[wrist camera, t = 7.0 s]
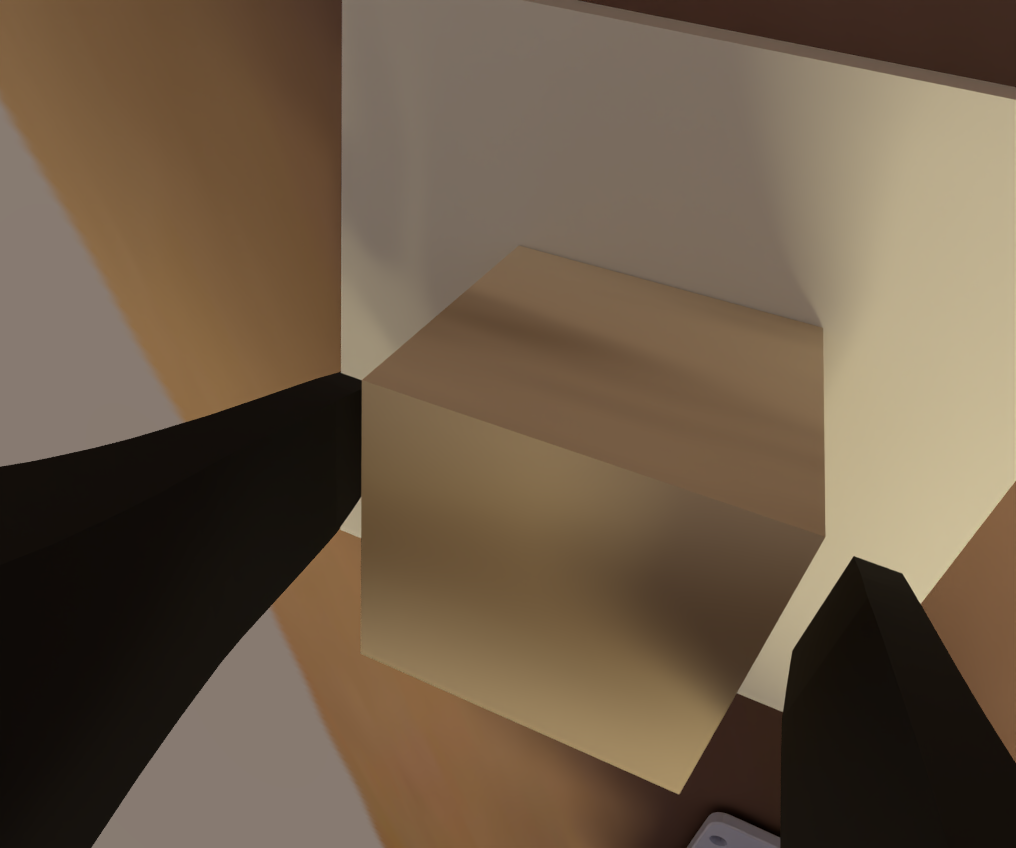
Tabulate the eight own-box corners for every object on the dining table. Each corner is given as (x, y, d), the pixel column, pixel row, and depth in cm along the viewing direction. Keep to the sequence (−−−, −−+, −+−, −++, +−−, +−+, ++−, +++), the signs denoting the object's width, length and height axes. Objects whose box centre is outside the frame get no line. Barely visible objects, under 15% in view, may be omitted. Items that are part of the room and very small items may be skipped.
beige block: (823, 626, 17) (824, 729, 15) (398, 464, 19) (340, 529, 17) (1162, 113, 10) (1269, 150, 8) (431, -31, 13) (341, -37, 10)
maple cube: (721, 554, 13) (679, 794, 9) (485, 471, 14) (360, 653, 10) (823, 327, 10) (824, 536, 6) (518, 245, 11) (362, 379, 7)
